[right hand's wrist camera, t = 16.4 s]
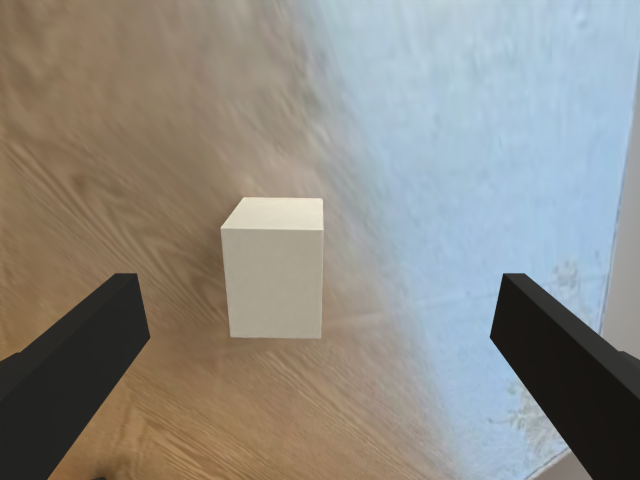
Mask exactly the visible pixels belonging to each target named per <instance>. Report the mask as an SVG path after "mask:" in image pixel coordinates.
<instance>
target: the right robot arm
mask: <svg viewBox="0 0 640 480" xmlns="http://www.w3.org/2000/svg"><path fill="white" fill-rule="evenodd" d="M149 339H150V334H149V329H148V324H147V320H146V315H145V310H144V305H143V301H142V296H141V291H140V286H139V282H138V277H137V273H115V274H114V275H113V276H112V277H111V278H109V279H108V280H107V281H106V282H105V283H103V284H102V285H101V286H100V287H99V288H97V289H96V290H95V291H94V292H92V293H91V294H90V295H89V296H88V297H86V298H85V299H84V300H83V301H82V302H80V303H79V304H78V305H77V306H76V307H74V308H73V309H72V310H71V311H70V312H68V313H67V314H66V315H65V316H64V317H62V318H61V319H60V320H59V321H58V322H56V323H55V324H54V325H53V326H51V327H50V328H49V329H48V330H47V331H45V332H44V333H43V334H42V335H41V336H39V337H38V338H37V339H36V340H35V341H33V342H32V343H31V344H30V345H29V346H27V347H26V348H25V349H24V350H23V351H21V352H20V353H15V354H13V355H11V356H10V357H8V358H6V359H4V360H2V361H0V480H47V479H48V478H49V476H50V475H51V473H52V472H53V471H54V469H55V468H56V467H57V465H58V464H59V462H60V461H61V460H62V458H63V457H64V456H65V454H66V453H67V451H68V450H69V449H70V447H71V446H72V445H73V443H74V442H75V440H76V439H77V438H78V436H79V435H80V434H81V432H82V431H83V429H84V428H85V427H86V425H87V424H88V423H89V421H90V420H91V418H92V417H93V416H94V414H95V413H96V412H97V410H98V409H99V407H100V406H101V405H102V403H103V402H104V401H105V399H106V398H107V396H108V395H109V394H110V392H111V391H112V389H113V388H114V387H115V385H116V384H117V383H118V381H119V380H120V378H121V377H122V376H123V374H124V373H125V372H126V370H127V369H128V367H129V366H130V365H131V363H132V362H133V361H134V359H135V358H136V356H137V355H138V354H139V352H140V351H141V350H142V348H143V347H144V345H145V344H146V343H147V341H148V340H149ZM490 339H491V340H492V341H493V343H494V344H495V345H496V347H497V348H498V350H499V351H500V352H501V354H502V355H503V356H504V358H505V359H506V361H507V362H508V363H509V365H510V366H511V367H512V369H513V370H514V372H515V373H516V374H517V376H518V377H519V378H520V380H521V381H522V383H523V384H524V385H525V387H526V388H527V389H528V391H529V392H530V394H531V395H532V396H533V398H534V399H535V401H536V402H537V403H538V405H539V406H540V407H541V409H542V410H543V412H544V413H545V414H546V416H547V417H548V418H549V420H550V421H551V423H552V424H553V425H554V427H555V428H556V429H557V431H558V432H559V434H560V435H561V436H562V438H563V439H564V440H565V442H566V443H567V445H568V446H569V447H570V449H571V450H572V451H573V453H574V454H575V456H576V457H577V458H578V460H579V461H580V462H581V464H582V465H583V467H584V468H585V469H586V471H587V472H588V473H589V475H590V476H591V478H592V479H593V480H640V360H639V359H637V358H635V357H633V356H631V355H630V354H628V353H626V352H624V351H617V350H616V349H615V348H614V347H613V346H611V345H610V344H609V343H608V342H607V341H605V340H604V339H603V338H602V337H601V336H599V335H598V334H597V333H596V332H595V331H593V330H592V329H591V328H590V327H589V326H587V325H586V324H585V323H584V322H582V321H581V320H580V319H579V318H578V317H576V316H575V315H574V314H573V313H572V312H570V311H569V310H568V309H567V308H566V307H564V306H563V305H562V304H561V303H560V302H558V301H557V300H556V299H555V298H554V297H552V296H551V295H550V294H549V293H548V292H546V291H545V290H544V289H543V288H541V287H540V286H539V285H538V284H537V283H535V282H534V281H533V280H532V279H531V278H529V277H528V276H527V275H526V274H525V273H503V277H502V282H501V286H500V291H499V296H498V301H497V305H496V310H495V315H494V320H493V324H492V329H491V334H490Z"/></svg>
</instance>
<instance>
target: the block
mask: <svg viewBox="0 0 640 480" xmlns="http://www.w3.org/2000/svg"><path fill="white" fill-rule="evenodd" d="M220 229H221V240H222V251H223V261H224V272H225V283H226V294H227V304H228V315H229V326H230V336H231V337H236V338H300V339H321V309H322V270H323V199H315V198H262V197H243V199H242V200H241V201H240V203H239V204H238V205H237V207H236V208H235V209H234V211H233V212H232V213H231V215H230V216H229V217H228V219H227V220H226V221H225V223H224V224H223V225H222V227H221V228H220Z"/></svg>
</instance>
